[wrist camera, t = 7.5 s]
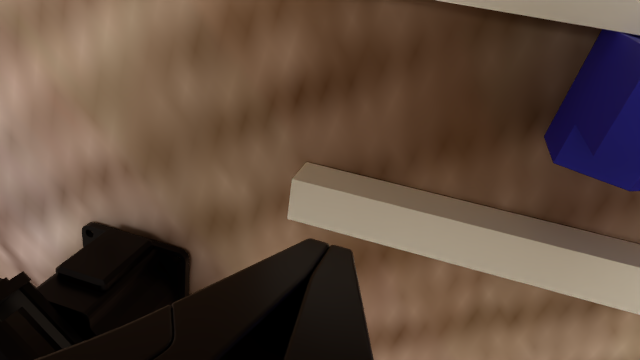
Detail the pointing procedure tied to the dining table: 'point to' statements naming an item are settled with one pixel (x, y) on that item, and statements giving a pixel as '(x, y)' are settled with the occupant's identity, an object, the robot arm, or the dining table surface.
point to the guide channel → (481, 221)
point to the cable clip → (602, 114)
